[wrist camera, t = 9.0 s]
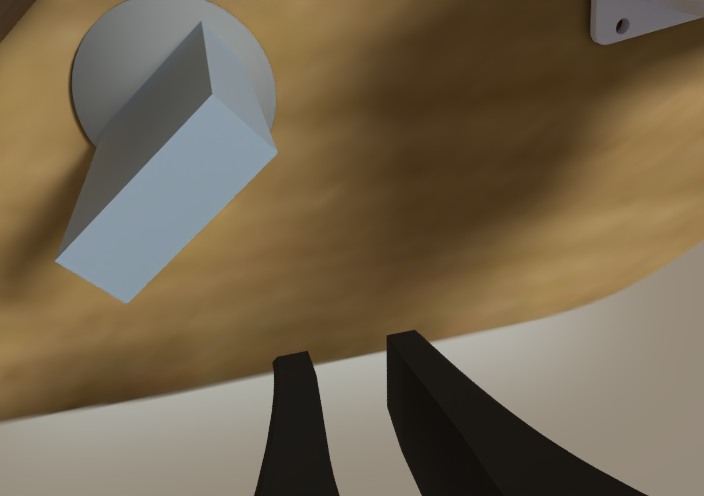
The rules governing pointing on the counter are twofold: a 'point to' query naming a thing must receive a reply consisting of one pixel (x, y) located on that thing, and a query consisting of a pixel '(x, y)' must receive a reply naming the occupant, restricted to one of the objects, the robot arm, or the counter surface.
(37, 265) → the counter surface
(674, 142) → the counter surface
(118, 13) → the disc
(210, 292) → the counter surface
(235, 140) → the domino head
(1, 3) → the domino
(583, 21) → the counter surface
